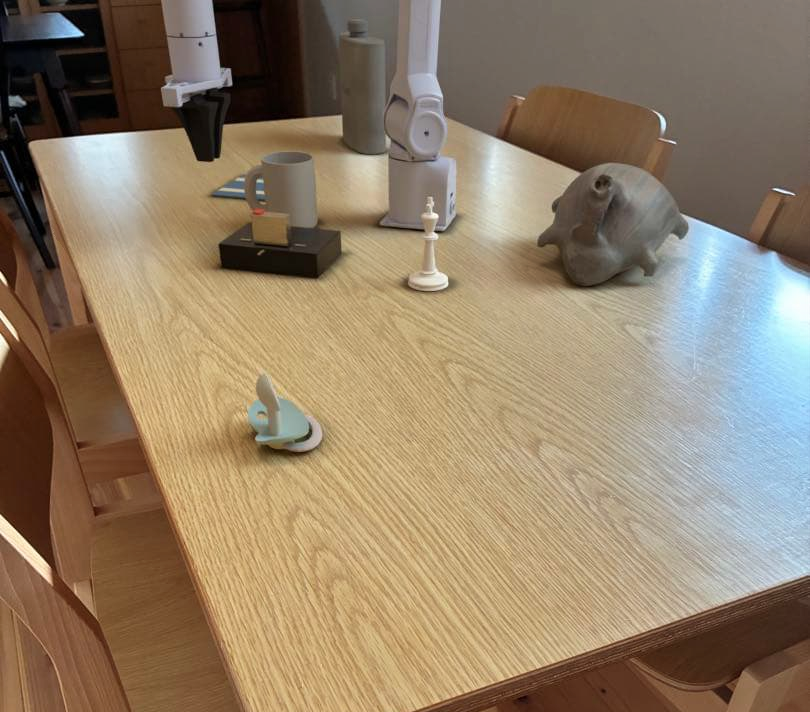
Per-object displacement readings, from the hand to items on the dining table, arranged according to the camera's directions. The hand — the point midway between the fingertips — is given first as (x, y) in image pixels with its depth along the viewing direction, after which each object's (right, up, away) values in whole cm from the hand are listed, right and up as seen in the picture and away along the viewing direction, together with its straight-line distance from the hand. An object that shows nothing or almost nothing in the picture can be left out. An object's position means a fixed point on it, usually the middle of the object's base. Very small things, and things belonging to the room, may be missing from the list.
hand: (208, 159), depth 103 cm
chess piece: (+28, -18, -5) cm, 34 cm away
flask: (+17, +26, +49) cm, 58 cm away
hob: (+9, -13, 0) cm, 16 cm away
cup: (+8, -4, +12) cm, 15 cm away
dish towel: (+1, +8, +27) cm, 28 cm away
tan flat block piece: (+9, -12, -3) cm, 15 cm away
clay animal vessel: (+50, -13, +1) cm, 51 cm away
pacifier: (+15, -40, -33) cm, 54 cm away
